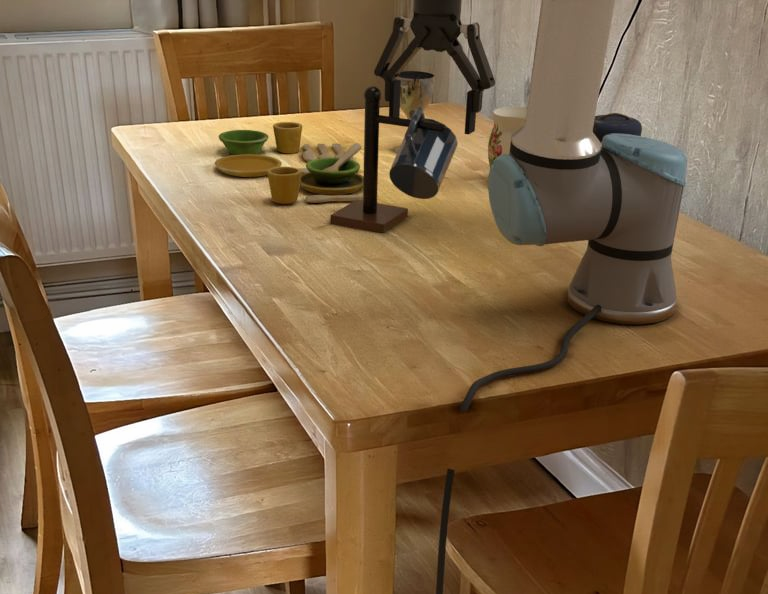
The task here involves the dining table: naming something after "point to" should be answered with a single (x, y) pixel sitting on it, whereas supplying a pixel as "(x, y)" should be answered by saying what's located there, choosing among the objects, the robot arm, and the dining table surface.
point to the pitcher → (504, 130)
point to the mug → (422, 159)
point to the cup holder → (375, 173)
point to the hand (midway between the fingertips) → (431, 127)
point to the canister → (615, 125)
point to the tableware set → (285, 181)
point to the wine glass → (415, 92)
